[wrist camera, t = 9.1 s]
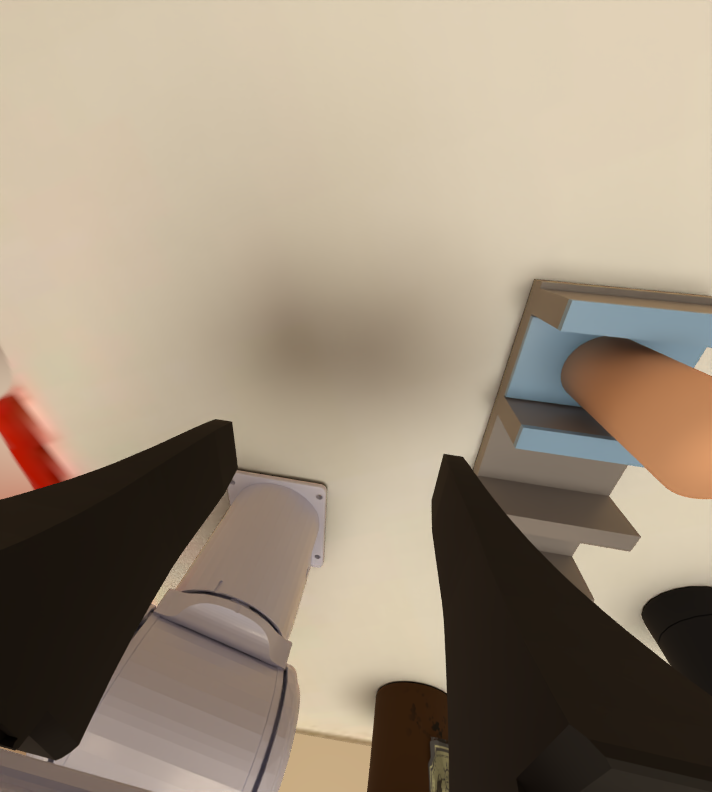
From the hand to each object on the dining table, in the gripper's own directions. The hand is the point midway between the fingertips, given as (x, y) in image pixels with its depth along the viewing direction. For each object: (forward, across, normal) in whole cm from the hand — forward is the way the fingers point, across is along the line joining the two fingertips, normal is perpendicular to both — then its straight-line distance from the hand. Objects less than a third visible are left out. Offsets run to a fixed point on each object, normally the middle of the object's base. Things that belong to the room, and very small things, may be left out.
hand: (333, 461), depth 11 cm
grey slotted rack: (+9, -12, +4) cm, 16 cm away
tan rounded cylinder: (+8, -12, -2) cm, 15 cm away
